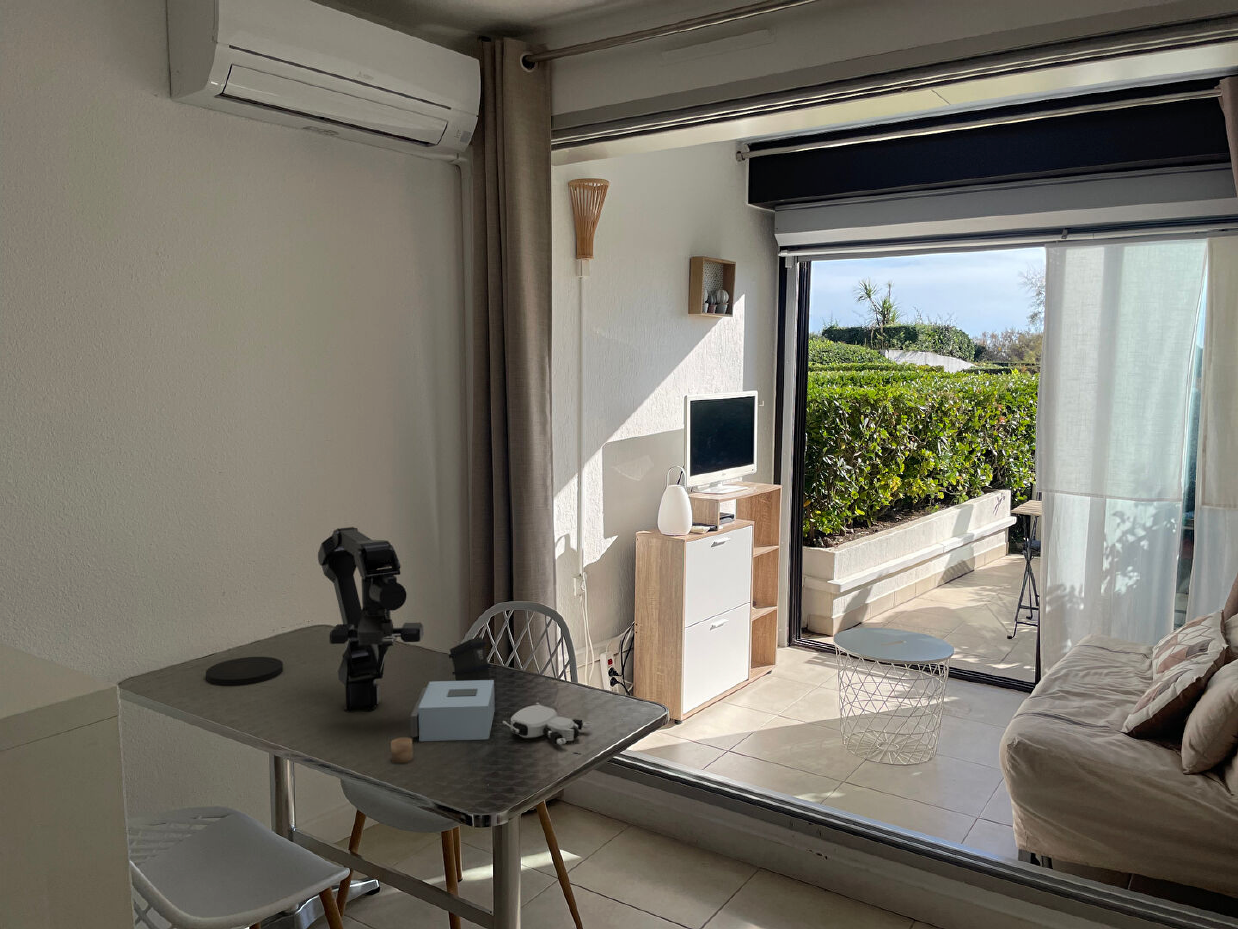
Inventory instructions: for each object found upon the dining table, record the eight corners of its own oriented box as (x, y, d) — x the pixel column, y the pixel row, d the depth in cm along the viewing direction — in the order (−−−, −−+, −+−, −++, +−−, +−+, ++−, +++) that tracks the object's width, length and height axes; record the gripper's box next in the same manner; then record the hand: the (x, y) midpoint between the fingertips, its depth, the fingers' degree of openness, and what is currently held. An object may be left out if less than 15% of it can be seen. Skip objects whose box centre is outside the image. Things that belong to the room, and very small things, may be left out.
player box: (419, 741, 188) (418, 707, 188) (430, 712, 204) (429, 680, 203) (488, 739, 189) (488, 705, 188) (494, 710, 205) (493, 679, 204)
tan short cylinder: (389, 763, 178) (389, 746, 177) (393, 755, 182) (392, 737, 181) (410, 763, 178) (410, 745, 177) (414, 754, 182) (413, 737, 181)
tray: (411, 737, 187) (410, 716, 187) (424, 706, 205) (423, 687, 204) (480, 735, 188) (480, 714, 188) (487, 704, 205) (487, 685, 205)
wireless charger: (298, 671, 234) (297, 664, 233) (235, 692, 219) (235, 684, 219) (253, 660, 243) (253, 652, 243) (191, 679, 228) (190, 671, 228)
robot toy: (593, 737, 193) (533, 718, 200) (594, 716, 192) (534, 698, 199) (561, 758, 182) (499, 738, 189) (562, 737, 181) (500, 717, 188)
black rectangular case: (486, 705, 203) (469, 639, 207) (459, 715, 213) (443, 652, 217) (501, 701, 206) (484, 636, 209) (473, 711, 216) (457, 648, 219)
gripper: (321, 611, 187) (324, 686, 189) (414, 609, 188) (416, 684, 190) (334, 598, 198) (337, 669, 200) (422, 596, 200) (424, 666, 201)
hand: (378, 672), depth 197 cm, fingers closed
